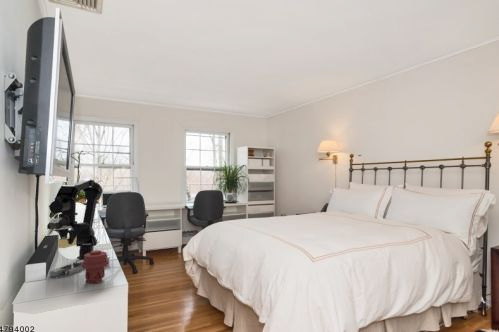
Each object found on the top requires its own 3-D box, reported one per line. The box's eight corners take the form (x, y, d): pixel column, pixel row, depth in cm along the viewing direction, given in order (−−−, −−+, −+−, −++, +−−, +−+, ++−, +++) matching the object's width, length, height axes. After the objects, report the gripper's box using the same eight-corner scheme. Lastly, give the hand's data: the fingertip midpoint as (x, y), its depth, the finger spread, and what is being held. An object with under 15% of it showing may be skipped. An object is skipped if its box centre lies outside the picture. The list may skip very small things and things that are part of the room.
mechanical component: (105, 284, 115) (77, 287, 112) (110, 276, 124) (85, 278, 122) (106, 253, 115) (78, 255, 113) (111, 247, 125) (85, 249, 122)
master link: (70, 244, 139) (70, 234, 140) (76, 244, 139) (76, 234, 139) (57, 247, 133) (58, 237, 133) (64, 248, 132) (64, 237, 132)
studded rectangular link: (75, 265, 139) (75, 259, 139) (90, 266, 137) (90, 260, 137) (45, 276, 124) (45, 269, 124) (62, 278, 122) (62, 271, 122)
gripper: (36, 212, 131) (35, 246, 130) (70, 213, 127) (69, 249, 126) (58, 210, 142) (57, 241, 141) (90, 211, 137) (88, 243, 137)
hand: (67, 244), depth 136 cm, fingers closed on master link, 3 cm apart
